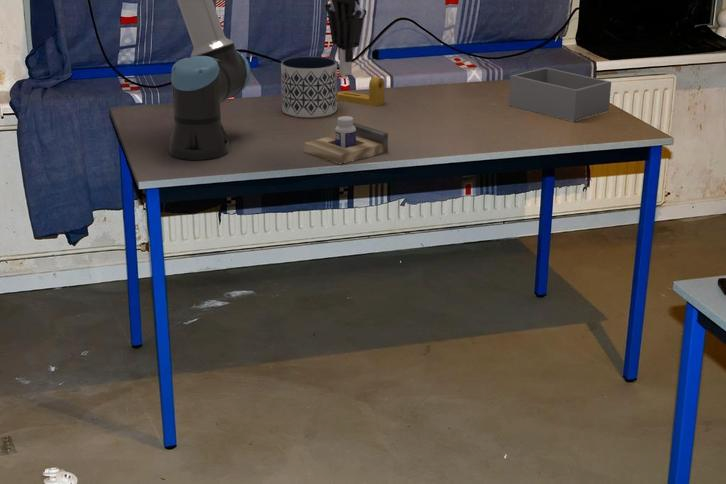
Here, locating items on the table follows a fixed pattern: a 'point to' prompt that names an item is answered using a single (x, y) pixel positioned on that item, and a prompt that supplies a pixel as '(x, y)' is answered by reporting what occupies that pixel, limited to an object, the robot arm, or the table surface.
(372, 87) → the bracket
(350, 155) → the jig
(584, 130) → the table surface
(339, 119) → the pill bottle
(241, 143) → the table surface
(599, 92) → the open gray rectangular box
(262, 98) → the table surface
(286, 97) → the planter
